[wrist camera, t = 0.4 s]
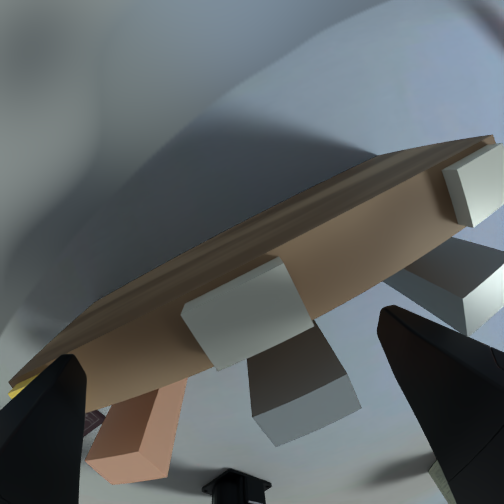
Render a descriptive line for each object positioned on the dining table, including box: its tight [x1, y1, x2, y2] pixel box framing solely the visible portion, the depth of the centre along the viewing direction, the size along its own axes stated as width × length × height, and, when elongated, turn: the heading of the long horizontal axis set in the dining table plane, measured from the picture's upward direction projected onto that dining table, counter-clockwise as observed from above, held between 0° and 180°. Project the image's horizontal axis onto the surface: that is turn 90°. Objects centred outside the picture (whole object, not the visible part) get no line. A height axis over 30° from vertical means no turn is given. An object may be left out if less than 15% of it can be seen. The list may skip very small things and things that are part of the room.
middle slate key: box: [247, 320, 362, 447], centre depth 18 cm, size 3×4×12 cm, turn 117°
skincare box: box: [428, 461, 456, 504], centre depth 26 cm, size 6×4×12 cm
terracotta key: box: [85, 377, 188, 485], centre depth 18 cm, size 3×4×12 cm, turn 117°
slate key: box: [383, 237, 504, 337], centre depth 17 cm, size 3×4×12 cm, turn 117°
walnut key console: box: [8, 135, 504, 413], centre depth 17 cm, size 10×27×14 cm, turn 117°
